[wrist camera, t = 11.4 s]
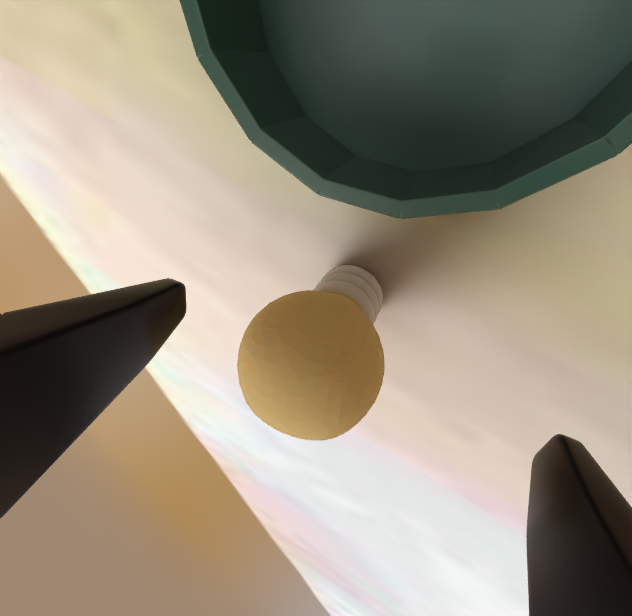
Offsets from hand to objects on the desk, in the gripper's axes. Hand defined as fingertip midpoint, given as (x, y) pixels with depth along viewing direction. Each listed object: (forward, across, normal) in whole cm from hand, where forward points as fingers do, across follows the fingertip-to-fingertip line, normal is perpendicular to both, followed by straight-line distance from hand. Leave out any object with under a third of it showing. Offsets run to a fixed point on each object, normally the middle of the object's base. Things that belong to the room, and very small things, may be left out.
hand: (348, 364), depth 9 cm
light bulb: (+12, +2, +6) cm, 14 cm away
